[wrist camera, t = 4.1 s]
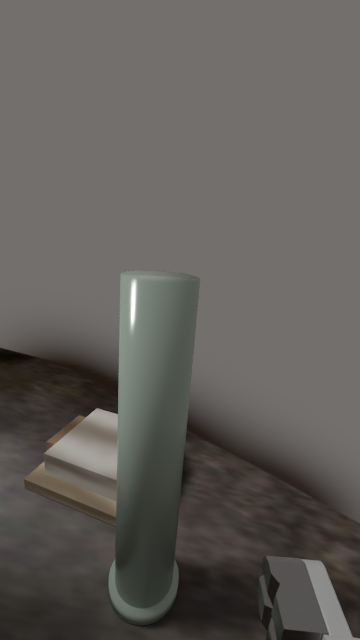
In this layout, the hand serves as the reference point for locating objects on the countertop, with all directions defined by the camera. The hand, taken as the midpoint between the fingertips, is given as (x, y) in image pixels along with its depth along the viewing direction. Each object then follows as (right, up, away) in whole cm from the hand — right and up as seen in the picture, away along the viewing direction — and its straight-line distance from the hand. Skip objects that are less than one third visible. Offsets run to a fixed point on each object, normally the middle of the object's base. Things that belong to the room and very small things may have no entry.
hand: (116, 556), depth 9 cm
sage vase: (-1, -16, +17) cm, 23 cm away
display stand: (-7, -12, +30) cm, 33 cm away
